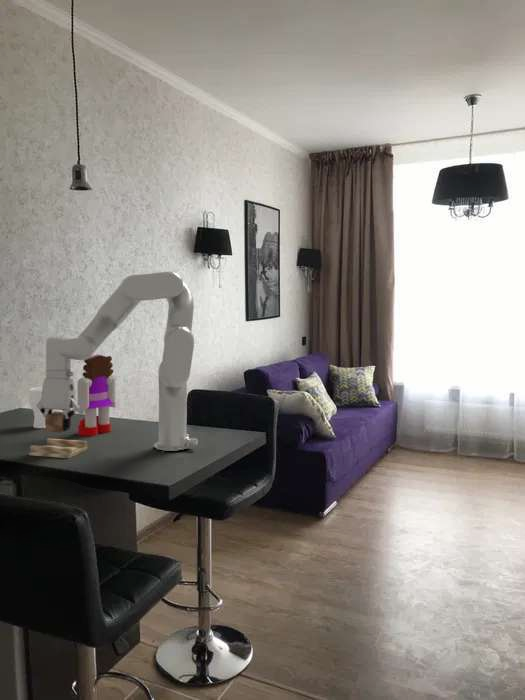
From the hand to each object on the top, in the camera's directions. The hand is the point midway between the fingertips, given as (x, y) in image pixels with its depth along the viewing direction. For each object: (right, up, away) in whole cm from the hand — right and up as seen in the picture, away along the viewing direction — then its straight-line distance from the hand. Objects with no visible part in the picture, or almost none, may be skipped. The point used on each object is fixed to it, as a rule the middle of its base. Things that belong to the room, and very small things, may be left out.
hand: (57, 428), depth 187 cm
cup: (-19, -5, +38) cm, 43 cm away
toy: (+4, -6, +30) cm, 30 cm away
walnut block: (0, -1, 0) cm, 1 cm away
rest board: (0, -8, +1) cm, 8 cm away
